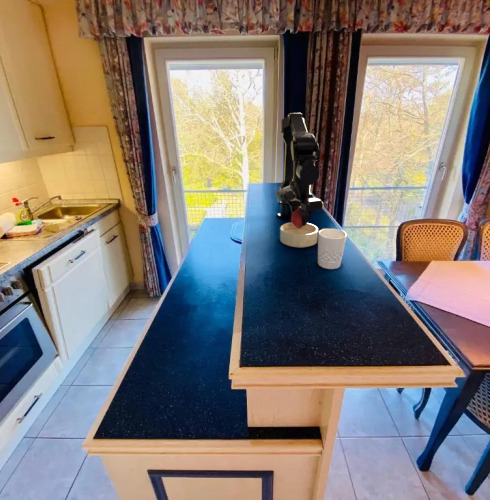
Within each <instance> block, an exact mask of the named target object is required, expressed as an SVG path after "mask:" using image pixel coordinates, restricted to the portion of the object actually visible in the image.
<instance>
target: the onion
mask: <svg viewBox="0 0 490 500" xmlns="http://www.w3.org/2000/svg"><path fill="white" fill-rule="evenodd" d="M299 207H301V206H299ZM290 221H291V222H292V223H293V225H294V226H295V227H297V228H301V227H303V226H302V216H301V211H300V210H299V209H297V210H295V211H294V212H293V214H292V216H291V218H290Z"/></svg>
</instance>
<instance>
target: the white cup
mask: <svg viewBox="0 0 490 500" xmlns="http://www.w3.org/2000/svg"><path fill="white" fill-rule="evenodd" d="M347 236H348V234H347V232H345V231H344V230H342V229H338V228H322V229H320V230H318V237H317V265H318V266H319V267H321V268H323V269H327V270H335V269H336V270H337V269H339V268H340V267H341V265H342V259H343V258H344V257H343V256H344V253H345V247H346V242H347Z"/></svg>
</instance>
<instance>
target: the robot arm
mask: <svg viewBox="0 0 490 500" xmlns="http://www.w3.org/2000/svg"><path fill="white" fill-rule="evenodd" d="M279 132H280V134H281V139H282V140H283V142H284V163H283V164H284V165H283V180H282V182H281V183H280V184H279V189H278V190H276V192H275V194H276V202H277V205H278V206H279V205H280V206H279V207H280V212H279V213H277V217H280V218H281V219H282V220H287V219H291V216H292V214H293V212H294V211H295V210H297V209H299V210H300V211H301V216H302V226H305V225H306V224H307V223H309V220H310V219H311V217H312V216H313V214H314V213H315V211H319V210H323V209H324V202H323V201H322V199H320V198H317V197H313V193H311V186H313V185H314V183H316V182H317V181H318V180H319V177H320V170H319V168H318V166H316V165H315V164H314V162H318V161H319V160H320V159H319V158H320V157H321V153H320V148H319V143H318V140H317V139H316V137H315V135H314V134H313V133H311V132H309V131H308V130H307V126H306V123H305V118H304V113H301V112H290V113H288V114H287V116H286V117H284V118H282V119H281V121H280V125H279ZM299 206H301V207H299Z"/></svg>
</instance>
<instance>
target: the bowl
mask: <svg viewBox="0 0 490 500" xmlns="http://www.w3.org/2000/svg"><path fill="white" fill-rule="evenodd" d="M318 235H319V228H318V226H317V225H315V224H313V223H309V222H307V224H306V225H305V226H303V227H301V228H297V227H295V226H294V225H293V223H292V222H286V223H283V224H282V225H280V227H279V241H280V242H281V243H282V244H284V245H286V246H287V247H292V248H308V247H311V246H314V245H316V244H318Z"/></svg>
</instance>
